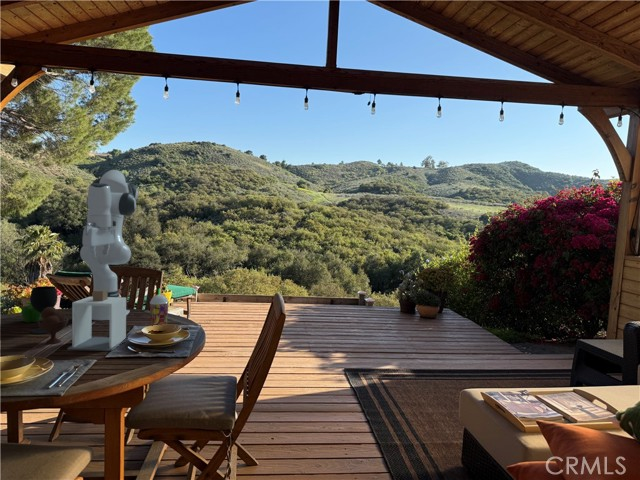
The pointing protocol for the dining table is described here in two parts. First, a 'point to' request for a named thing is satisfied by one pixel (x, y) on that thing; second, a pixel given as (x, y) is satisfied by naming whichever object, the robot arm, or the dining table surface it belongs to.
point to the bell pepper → (30, 313)
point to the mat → (94, 344)
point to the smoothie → (159, 309)
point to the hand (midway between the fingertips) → (99, 256)
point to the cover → (84, 317)
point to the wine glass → (42, 301)
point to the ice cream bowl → (52, 323)
